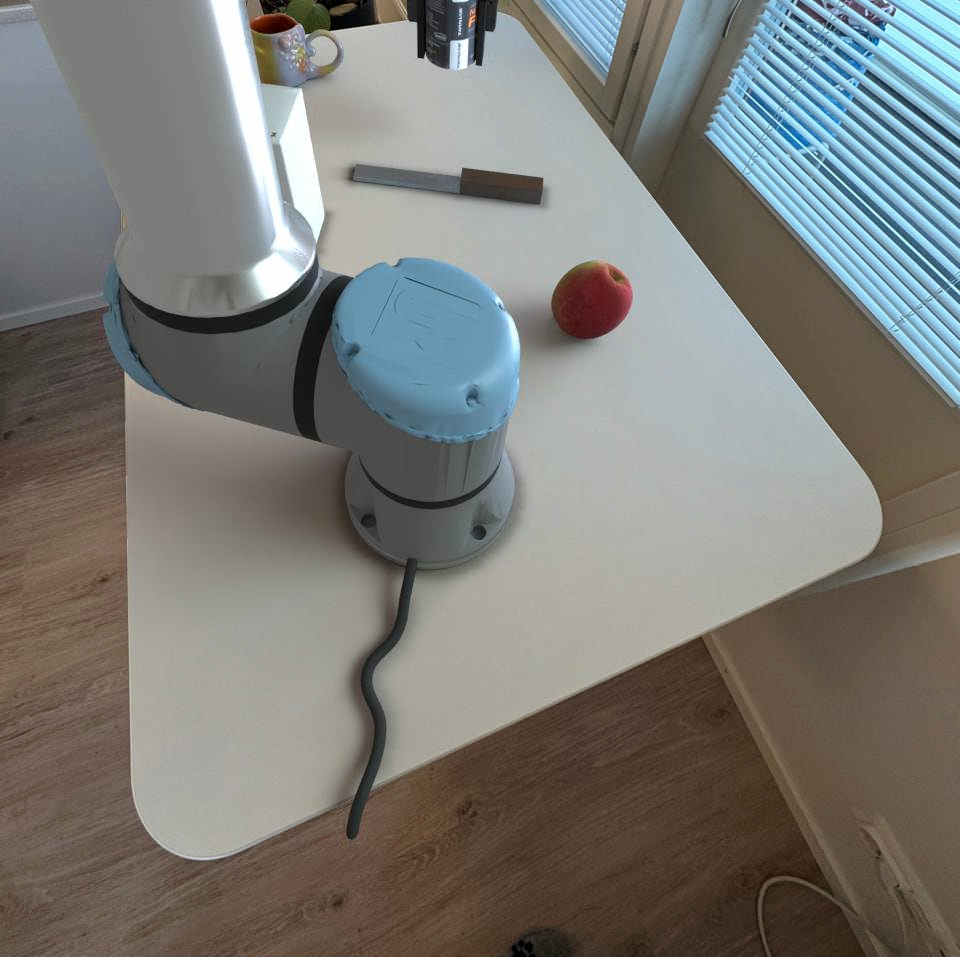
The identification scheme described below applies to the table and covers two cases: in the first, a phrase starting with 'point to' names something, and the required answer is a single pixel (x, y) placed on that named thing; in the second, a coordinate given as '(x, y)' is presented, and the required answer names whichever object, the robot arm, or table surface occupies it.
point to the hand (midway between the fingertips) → (451, 55)
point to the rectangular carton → (294, 152)
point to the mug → (288, 50)
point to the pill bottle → (451, 32)
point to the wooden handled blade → (459, 182)
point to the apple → (591, 300)
